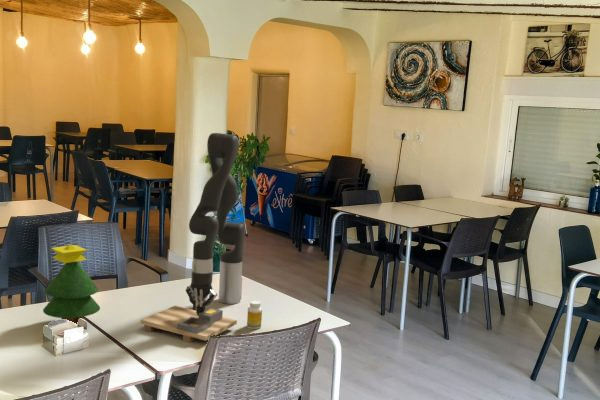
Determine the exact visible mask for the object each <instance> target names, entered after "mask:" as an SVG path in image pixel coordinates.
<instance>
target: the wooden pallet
mask: <svg viewBox="0 0 600 400" xmlns="http://www.w3.org/2000/svg"><path fill="white" fill-rule="evenodd" d="M190 317H195V318H199V316H197V313H196V310H192V309H190V308H187V307H182V306H178V305H173V306H171V307H169V308H166V309H164V310H161V311H159V312H157V313H154V314H152V315H149V316H146V317H145V318H142V319H140V324H141V325H143V331H145V332H150V333H151V332H153V331H155V330H156V331H157V329H159V330H163V331H167V332H171V333H174V334H175V333H176V334H178V335H182V341H184V342H188V343H191V342H193V341H195V340H201V341H208V340H209V339H208V338H209V337H210V336H212V335H215V336H217V335H219V334H221V333H223V332H225V331H227V330H228V329H229V330H230V328H232V327H234V326H235V325H238V320H237V319H234V318H229V317H225V316H222V319H220V320H218V321H216V322H214V323H212V324H211V327H210V328H208V329H206V330H204V331H202V332H200V333H198V334H196V333H192V332H188V331H184V330H180V329H177V323H179V322H181V321H183V320H186V319H188V318H190ZM190 325H191V326H195V327H198V326H200V325H197V324H193V323H192V324H190Z"/></svg>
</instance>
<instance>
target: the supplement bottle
mask: <svg viewBox="0 0 600 400" xmlns="http://www.w3.org/2000/svg"><path fill="white" fill-rule="evenodd" d="M261 304H262V303H261V301H260V300H259V301H258V300H251V301H250V302H249V307H248V308H247V317H246V320H247V321H246V327H247V328H248V329H251V330H259V329H260V328H261V327H262V319H263V318H262V317H263V315H262V314H263V309H262V308H263V307H261Z"/></svg>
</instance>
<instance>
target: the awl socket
mask: <svg viewBox="0 0 600 400" xmlns="http://www.w3.org/2000/svg"><path fill="white" fill-rule="evenodd" d="M192 323H193V324H197V325H200V326H198V327H195V326H191V325H190V324H192ZM210 327H211V321H208V320H204V319H199V318H195V317H190V318H188V319H186V320H183V321H181V322H179V323H177V329H180V330H184V331H188V332H192V333H196V334H198V333H200V332H202V331H204V330H206V329H208V328H210Z"/></svg>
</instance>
